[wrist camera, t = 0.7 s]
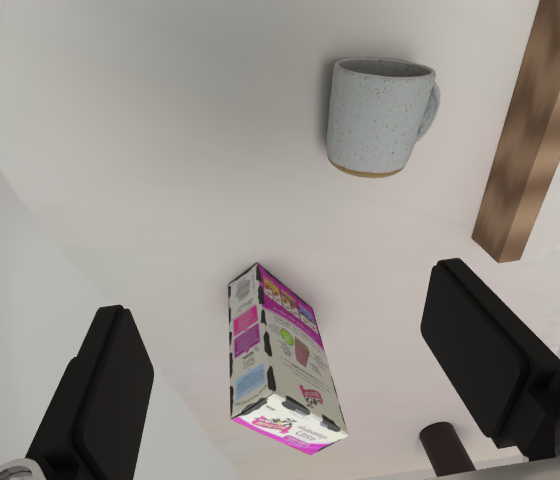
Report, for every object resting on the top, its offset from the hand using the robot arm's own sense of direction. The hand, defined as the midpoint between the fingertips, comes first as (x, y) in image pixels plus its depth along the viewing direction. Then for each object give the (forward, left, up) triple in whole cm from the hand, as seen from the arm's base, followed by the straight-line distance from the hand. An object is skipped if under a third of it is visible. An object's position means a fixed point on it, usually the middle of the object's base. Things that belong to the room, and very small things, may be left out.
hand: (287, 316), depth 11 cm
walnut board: (+2, +26, -24) cm, 36 cm away
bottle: (+64, +29, -25) cm, 75 cm away
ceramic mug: (0, +12, -25) cm, 27 cm away
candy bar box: (+22, 0, -25) cm, 33 cm away
